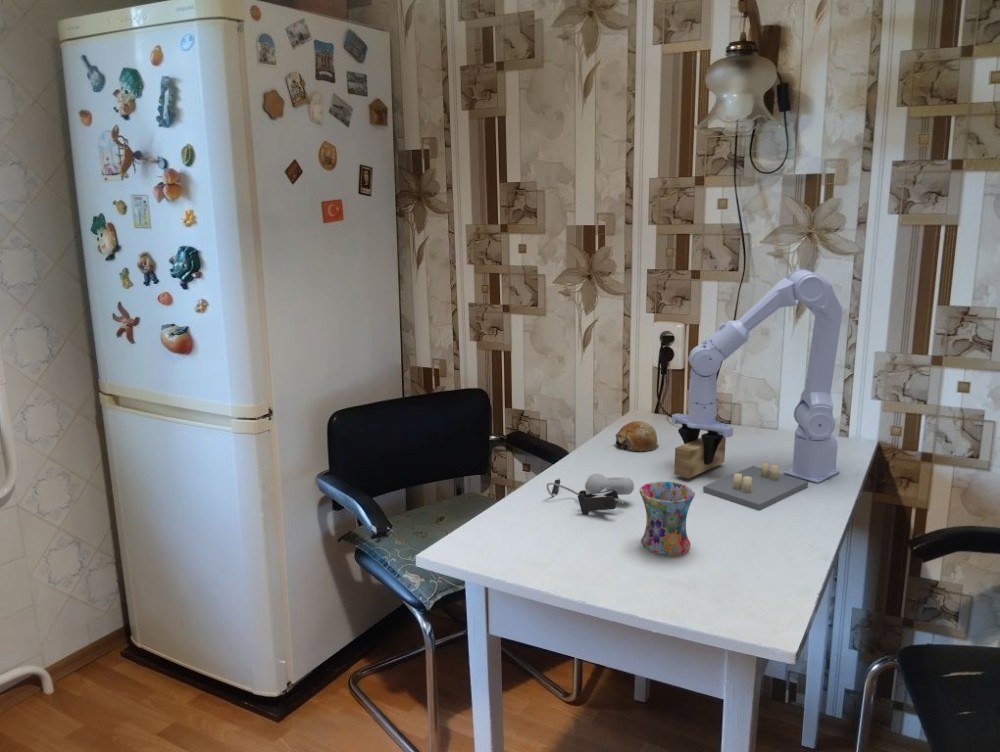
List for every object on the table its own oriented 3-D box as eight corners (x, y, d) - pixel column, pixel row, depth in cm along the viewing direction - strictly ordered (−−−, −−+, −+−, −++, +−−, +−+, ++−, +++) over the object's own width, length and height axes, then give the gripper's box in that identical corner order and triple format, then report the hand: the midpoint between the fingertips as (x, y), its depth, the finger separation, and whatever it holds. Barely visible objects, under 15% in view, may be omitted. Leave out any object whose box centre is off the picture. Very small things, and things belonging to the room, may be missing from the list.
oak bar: (710, 458, 181) (711, 433, 179) (724, 462, 178) (725, 436, 177) (674, 474, 171) (675, 447, 170) (688, 478, 169) (689, 451, 167)
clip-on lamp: (537, 516, 161) (615, 518, 150) (530, 487, 160) (607, 487, 149) (567, 493, 170) (642, 492, 159) (560, 465, 169) (635, 463, 158)
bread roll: (653, 467, 189) (668, 438, 187) (614, 450, 188) (629, 420, 186) (646, 453, 199) (661, 425, 197) (609, 437, 198) (623, 409, 196)
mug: (688, 563, 133) (691, 504, 131) (633, 555, 136) (634, 497, 134) (697, 534, 144) (700, 479, 142) (646, 527, 147) (647, 473, 145)
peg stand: (752, 470, 175) (753, 452, 174) (807, 486, 165) (809, 467, 164) (703, 491, 164) (703, 472, 163) (758, 510, 154) (760, 490, 153)
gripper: (663, 398, 174) (662, 457, 177) (720, 411, 163) (717, 474, 166) (683, 392, 178) (681, 450, 182) (739, 405, 168) (736, 466, 171)
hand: (700, 461), depth 174 cm, fingers closed on oak bar, 4 cm apart
